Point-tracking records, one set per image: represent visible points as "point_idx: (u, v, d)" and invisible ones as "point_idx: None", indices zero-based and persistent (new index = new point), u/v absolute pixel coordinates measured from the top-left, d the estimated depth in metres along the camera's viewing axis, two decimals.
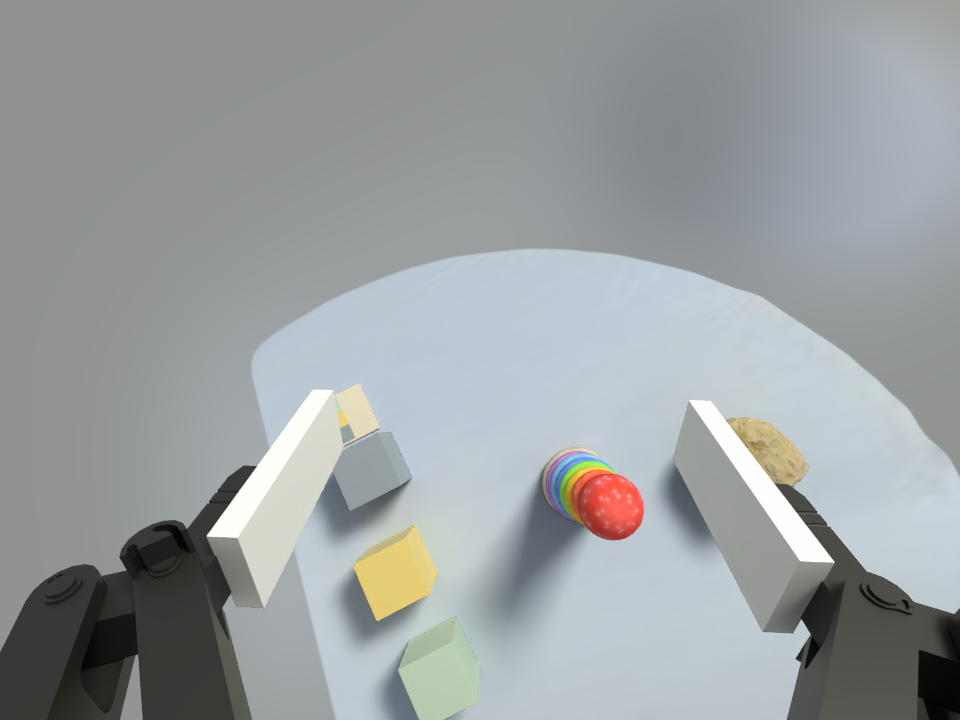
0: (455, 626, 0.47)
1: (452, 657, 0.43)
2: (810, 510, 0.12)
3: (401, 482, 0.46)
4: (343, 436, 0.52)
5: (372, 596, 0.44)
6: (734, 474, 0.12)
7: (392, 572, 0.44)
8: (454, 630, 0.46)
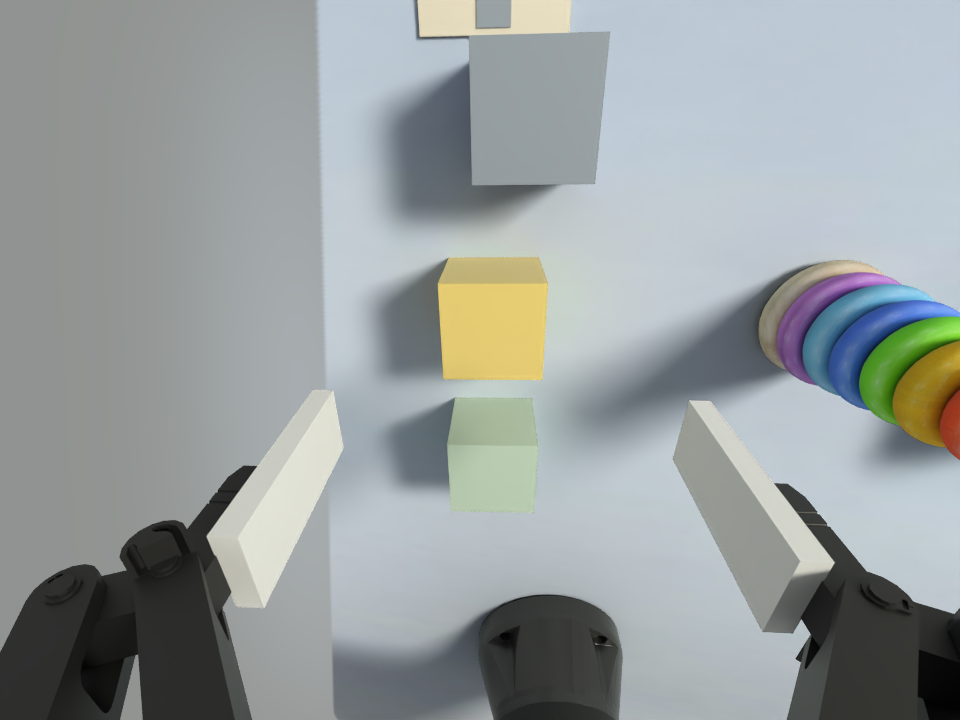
0: (533, 417, 0.32)
1: (528, 462, 0.29)
2: (810, 510, 0.12)
3: None
4: (487, 10, 0.23)
5: (451, 344, 0.25)
6: (734, 474, 0.12)
7: (499, 325, 0.25)
8: (534, 424, 0.31)
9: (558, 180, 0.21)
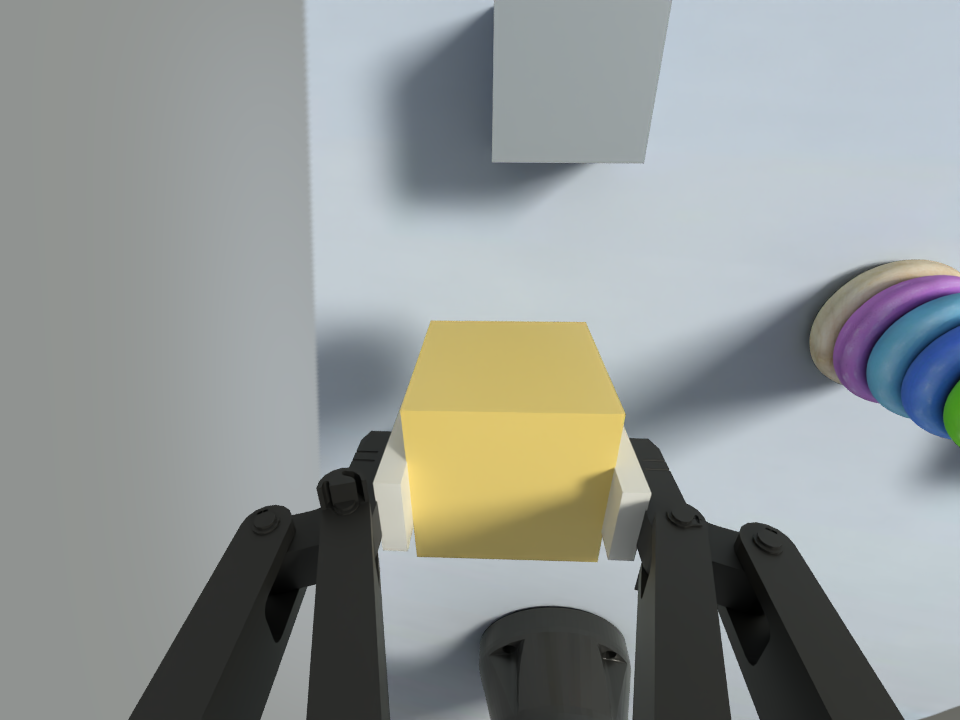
0: None
1: None
2: (659, 458, 0.14)
3: None
4: None
5: (430, 507, 0.13)
6: None
7: (523, 481, 0.13)
8: None
9: (599, 158, 0.17)
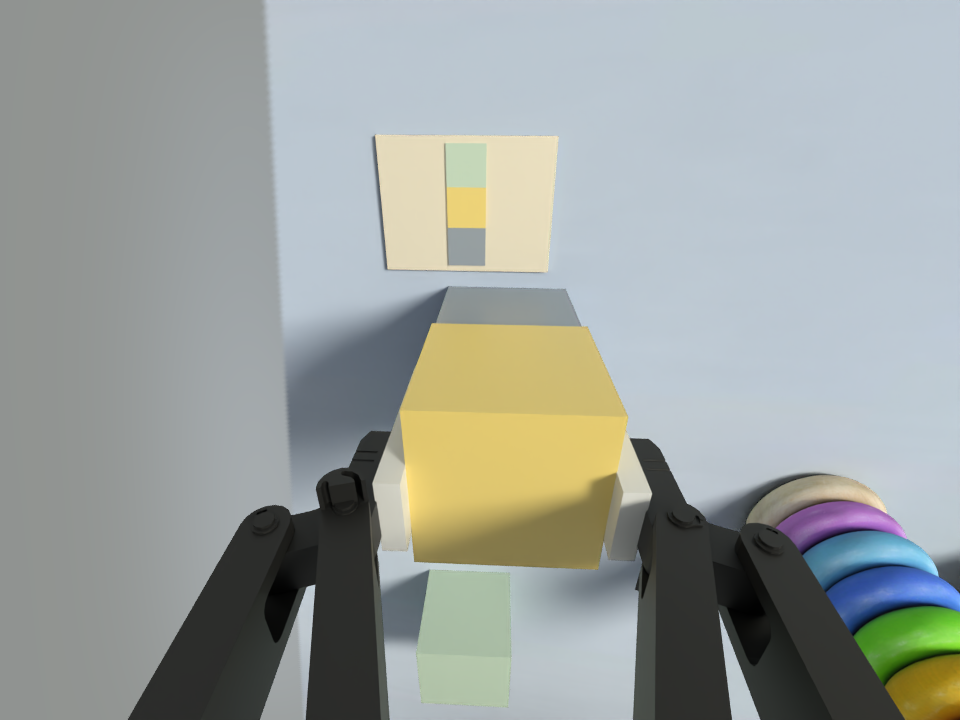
0: None
1: (501, 669, 0.28)
2: (659, 459, 0.14)
3: None
4: (459, 249, 0.21)
5: (428, 510, 0.13)
6: None
7: (523, 485, 0.12)
8: (510, 618, 0.29)
9: None
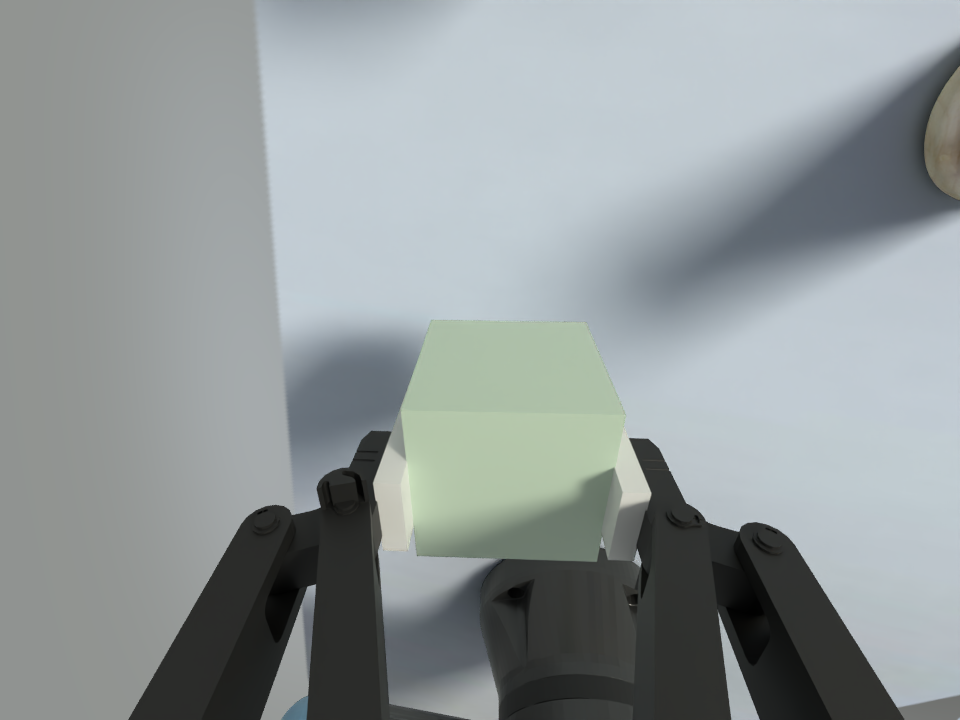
0: None
1: (598, 453, 0.12)
2: (659, 458, 0.14)
3: None
4: None
5: None
6: None
7: None
8: None
9: None
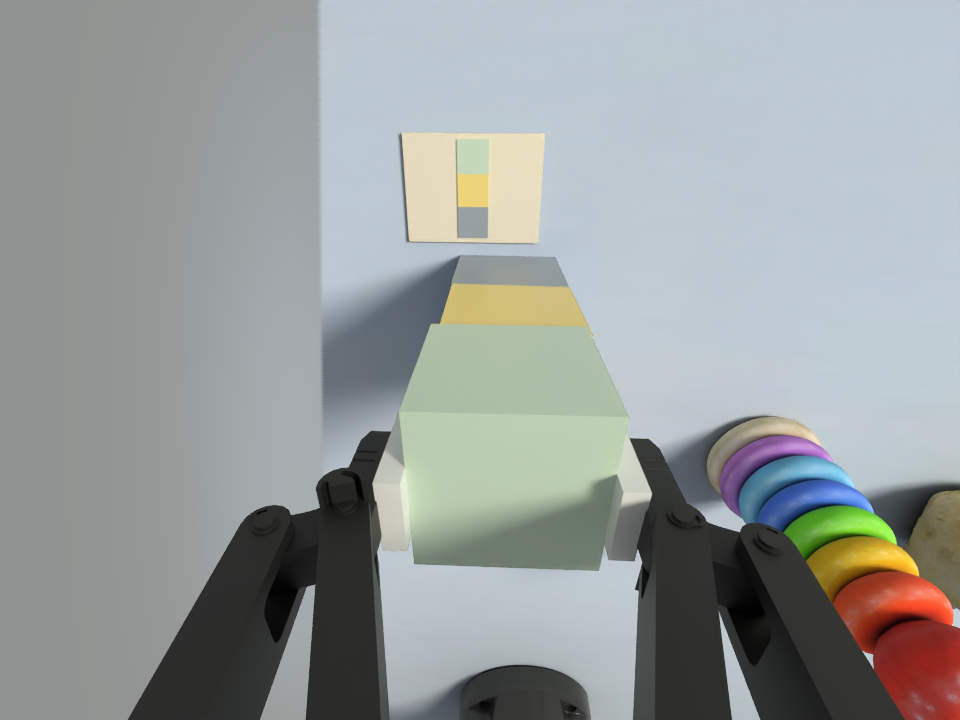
0: None
1: (600, 457, 0.12)
2: (659, 459, 0.14)
3: None
4: (467, 224, 0.26)
5: None
6: None
7: None
8: None
9: None
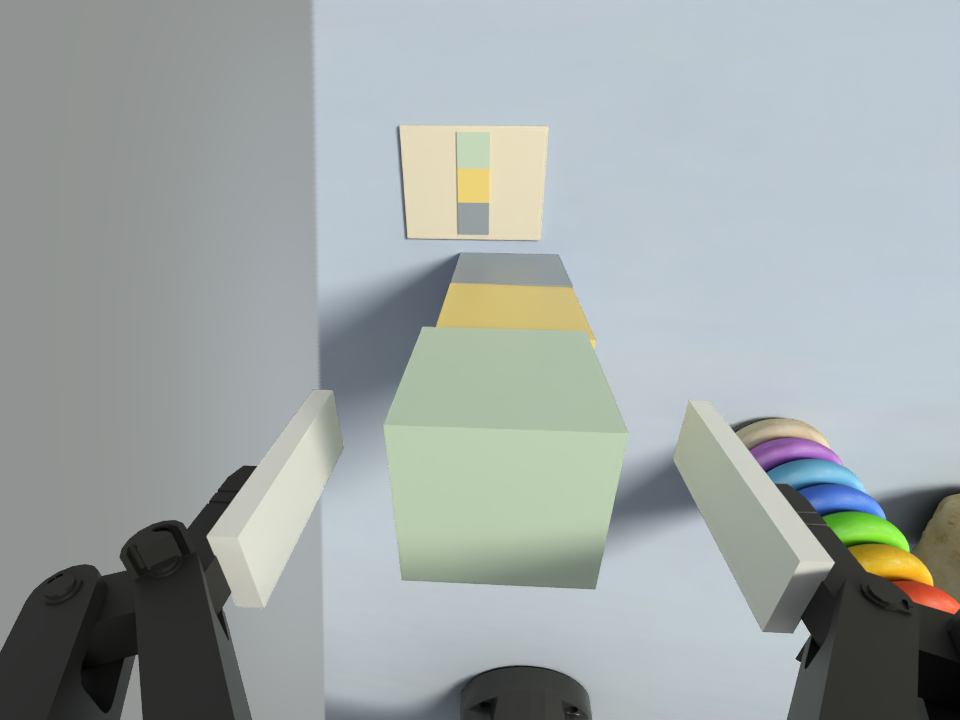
0: None
1: (597, 474, 0.11)
2: (810, 510, 0.12)
3: None
4: (467, 221, 0.25)
5: None
6: (734, 474, 0.12)
7: None
8: None
9: None
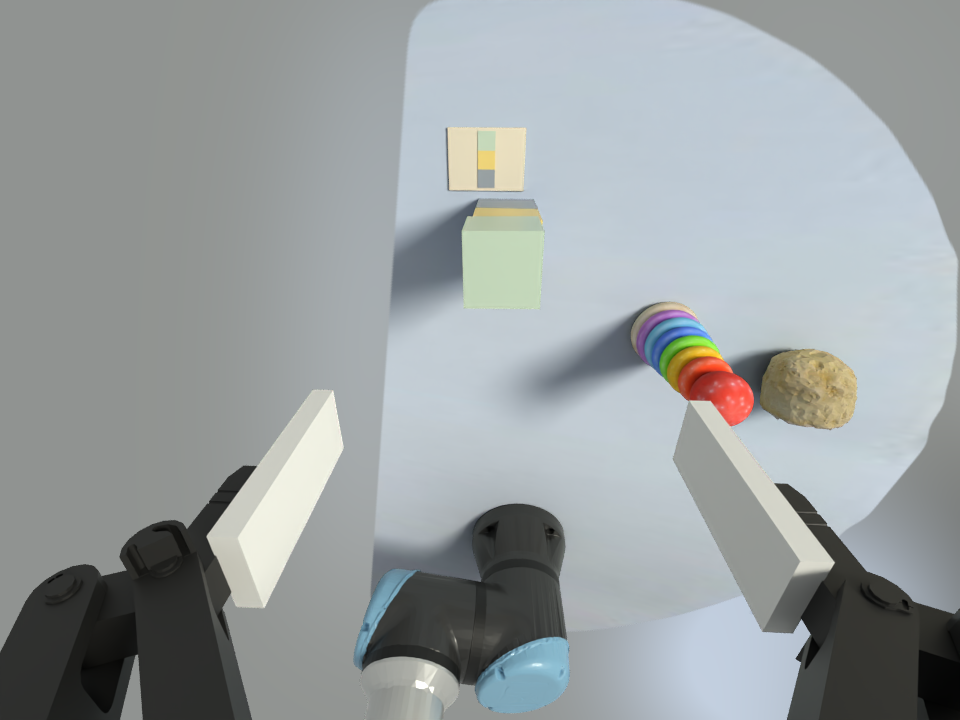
0: None
1: (535, 249, 0.32)
2: (810, 510, 0.12)
3: None
4: (482, 180, 0.46)
5: None
6: (734, 474, 0.12)
7: None
8: None
9: None
